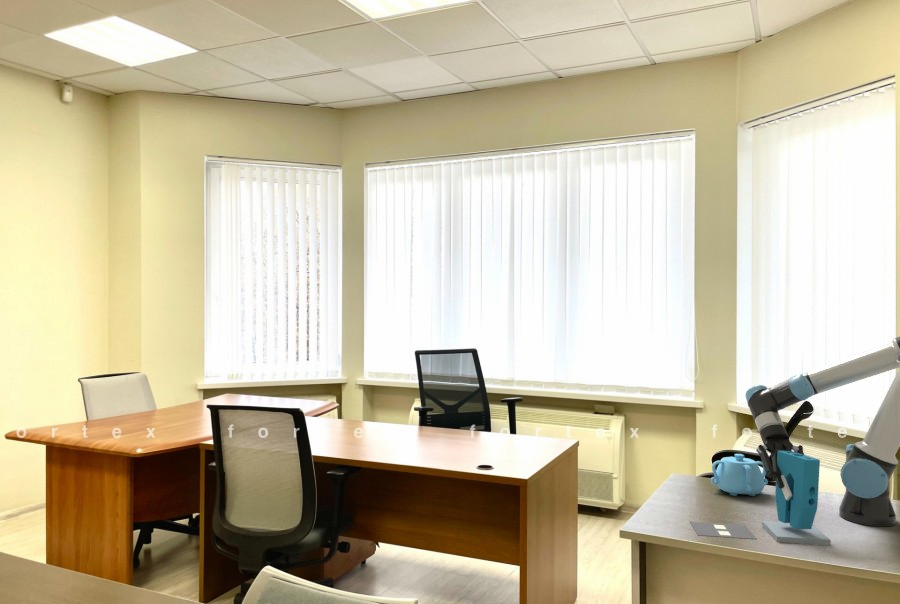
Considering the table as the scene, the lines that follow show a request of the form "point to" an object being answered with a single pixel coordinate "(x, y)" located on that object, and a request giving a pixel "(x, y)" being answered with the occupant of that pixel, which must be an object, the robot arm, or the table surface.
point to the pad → (795, 534)
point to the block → (798, 489)
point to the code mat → (722, 530)
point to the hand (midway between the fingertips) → (799, 497)
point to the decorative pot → (739, 475)
